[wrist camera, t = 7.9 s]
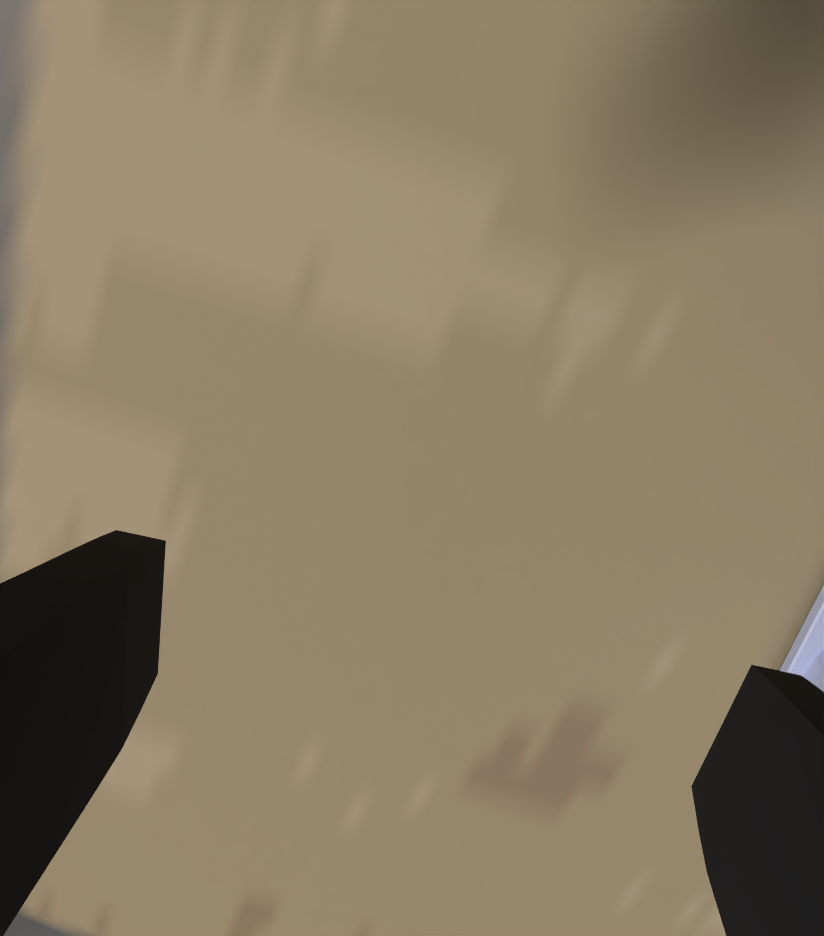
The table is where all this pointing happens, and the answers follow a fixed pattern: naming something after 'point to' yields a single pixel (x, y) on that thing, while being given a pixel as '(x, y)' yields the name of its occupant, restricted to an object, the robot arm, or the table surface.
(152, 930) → the table surface
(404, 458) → the table surface
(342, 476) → the table surface
